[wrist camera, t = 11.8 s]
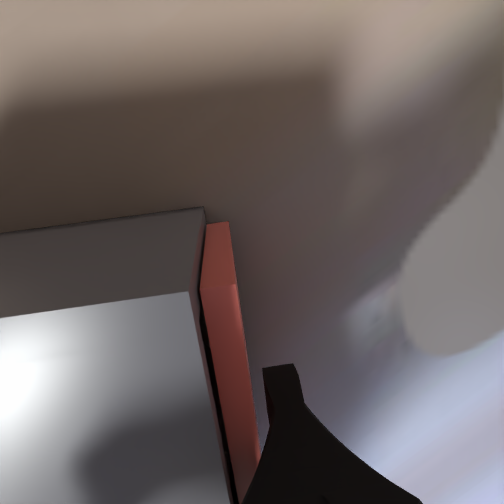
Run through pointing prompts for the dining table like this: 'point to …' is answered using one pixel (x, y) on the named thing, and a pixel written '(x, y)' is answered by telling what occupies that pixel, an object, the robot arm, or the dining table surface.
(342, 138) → the dining table surface
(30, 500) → the housing
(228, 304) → the red drawer
